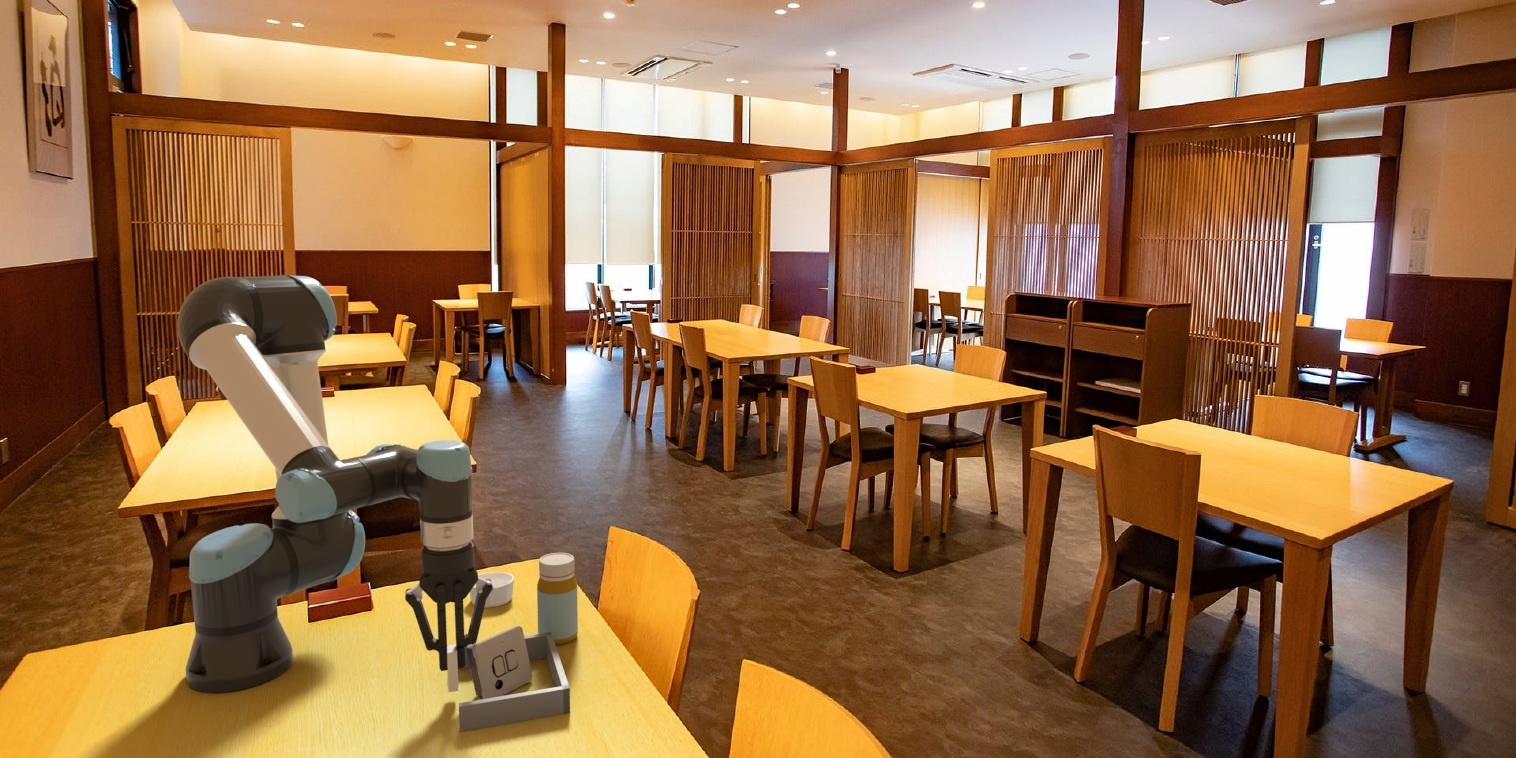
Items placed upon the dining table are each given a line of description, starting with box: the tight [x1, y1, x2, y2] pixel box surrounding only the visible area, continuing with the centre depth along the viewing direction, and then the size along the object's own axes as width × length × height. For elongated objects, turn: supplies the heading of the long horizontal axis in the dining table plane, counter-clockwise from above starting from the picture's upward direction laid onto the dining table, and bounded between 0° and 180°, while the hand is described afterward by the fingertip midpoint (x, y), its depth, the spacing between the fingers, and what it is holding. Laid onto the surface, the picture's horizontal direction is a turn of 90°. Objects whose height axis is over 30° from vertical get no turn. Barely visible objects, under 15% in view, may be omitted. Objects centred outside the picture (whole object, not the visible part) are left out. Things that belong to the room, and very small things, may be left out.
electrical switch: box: [466, 625, 534, 699], centre depth 138 cm, size 9×5×9 cm, turn 146°
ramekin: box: [469, 571, 515, 608], centre depth 172 cm, size 9×9×4 cm
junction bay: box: [458, 632, 571, 733], centre depth 138 cm, size 20×16×4 cm
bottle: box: [536, 552, 579, 646], centre depth 155 cm, size 7×7×15 cm
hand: (453, 687), depth 134 cm, fingers closed
